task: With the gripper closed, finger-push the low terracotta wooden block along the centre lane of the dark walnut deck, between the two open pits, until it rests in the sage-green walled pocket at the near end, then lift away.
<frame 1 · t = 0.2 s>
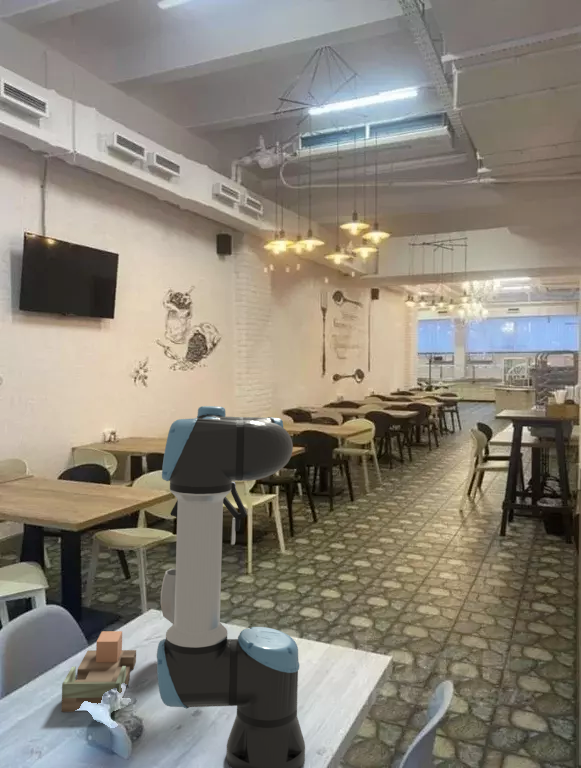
hand: (208, 542, 167), 28 cm above the table, fingers open, 13 cm apart
block: (109, 656, 153), point 3 cm above the table, touching deck
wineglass: (174, 651, 164), on the table
deck: (101, 684, 145), on the table
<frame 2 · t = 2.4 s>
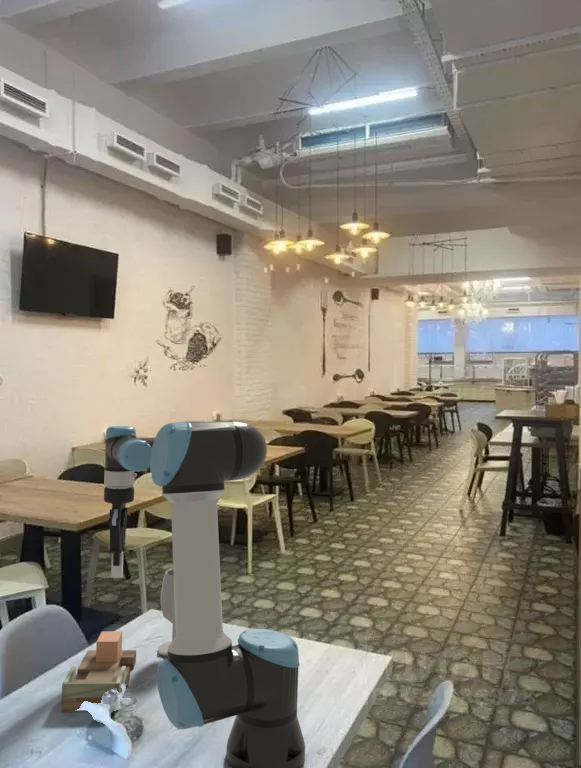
hand: (116, 576, 161), 20 cm above the table, fingers closed
nothing on the table moved.
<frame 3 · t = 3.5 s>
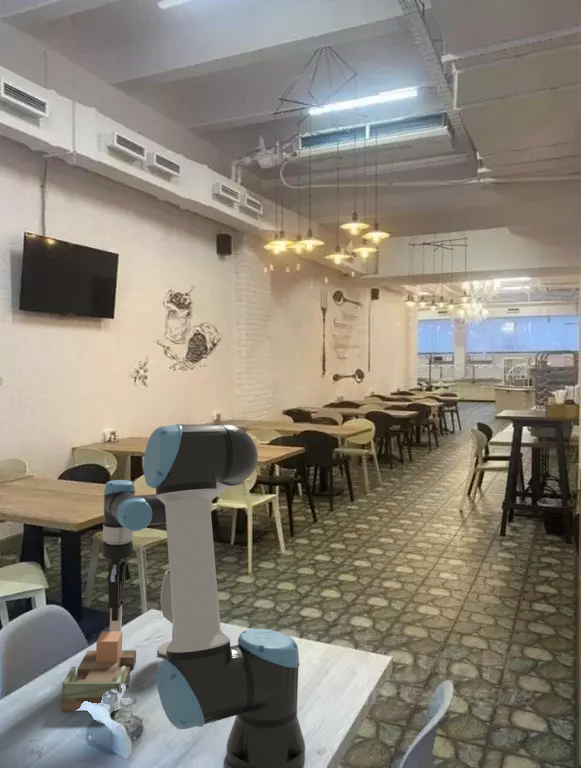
hand: (115, 631, 161), 6 cm above the table, fingers closed
nothing on the table moved.
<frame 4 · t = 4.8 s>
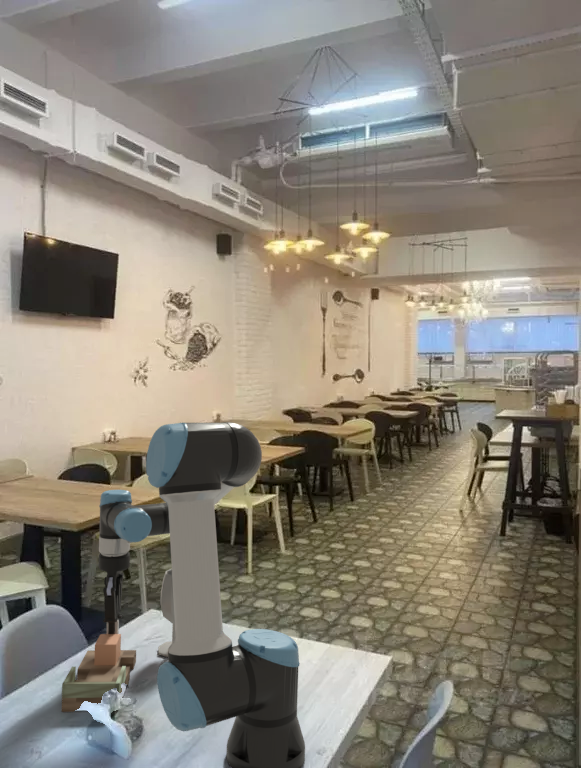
hand: (112, 645, 156), 4 cm above the table, fingers closed
block: (107, 659, 151), point 3 cm above the table, touching gripper
everything else where it was.
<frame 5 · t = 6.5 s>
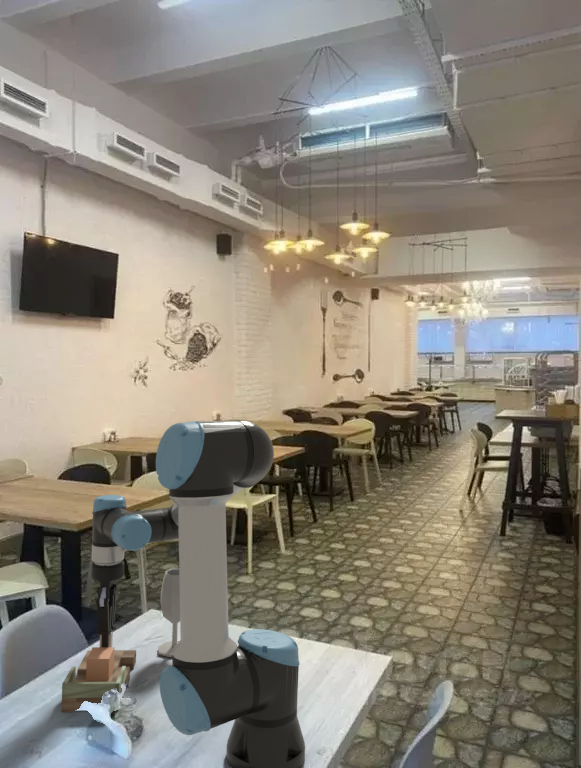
hand: (105, 659, 149), 4 cm above the table, fingers closed
block: (100, 674, 144), point 3 cm above the table, touching gripper
everything else where it was.
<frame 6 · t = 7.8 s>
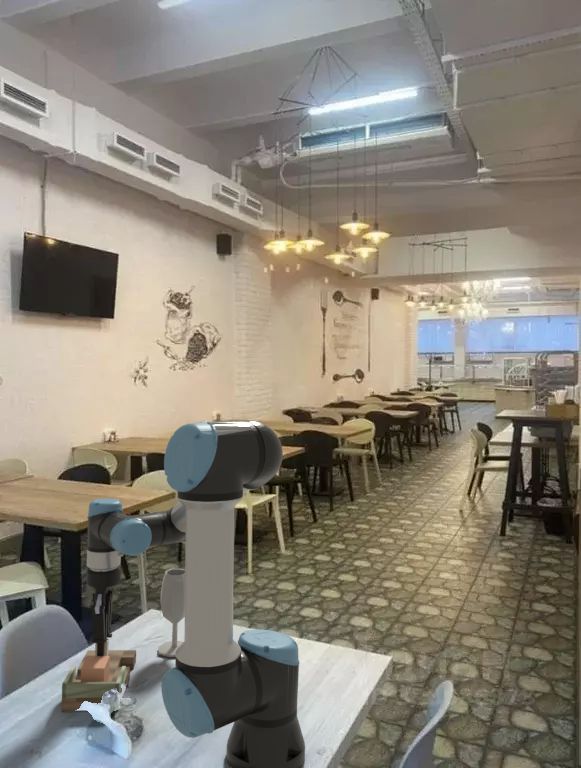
hand: (101, 667, 144), 4 cm above the table, fingers closed
block: (95, 684, 139), point 3 cm above the table, touching deck, gripper
everything else where it was.
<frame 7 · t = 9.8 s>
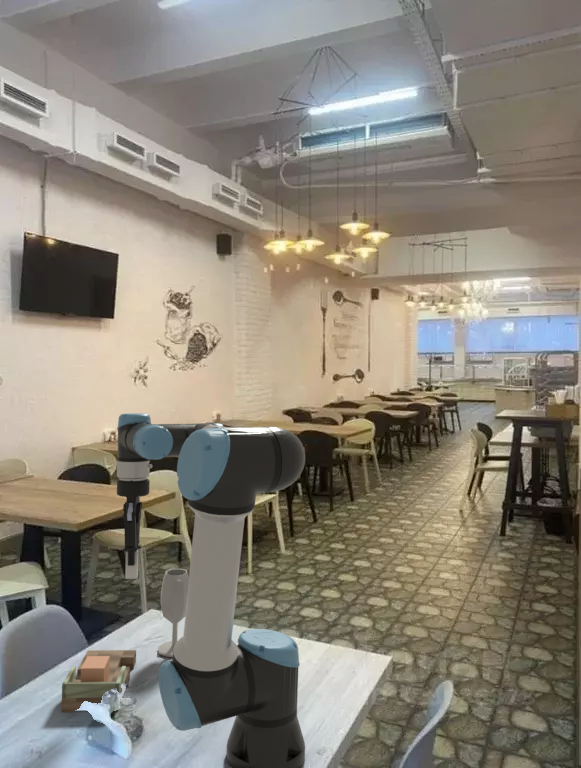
hand: (131, 577, 148), 24 cm above the table, fingers closed
block: (95, 684, 139), point 3 cm above the table, touching deck
everything else where it was.
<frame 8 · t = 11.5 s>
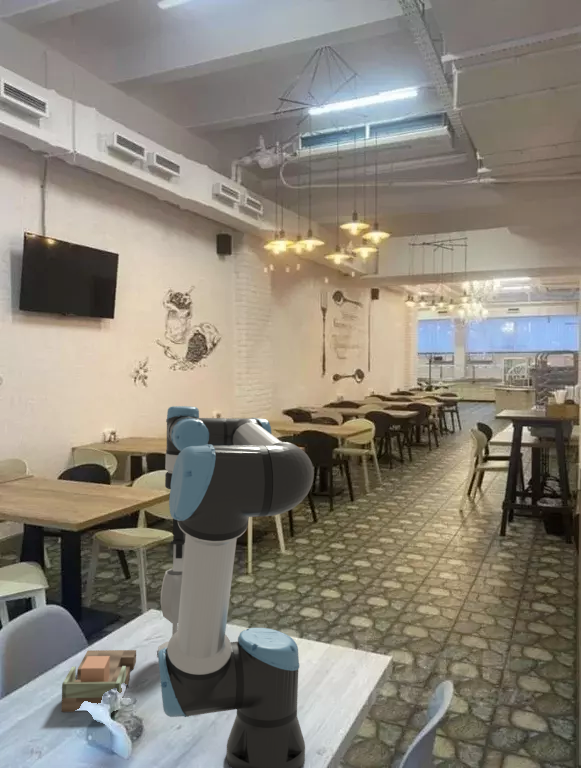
hand: (179, 570, 148), 26 cm above the table, fingers closed
nothing on the table moved.
at the end: block inside the target area on the deck (1.2 cm from its centre), point 3.0 cm above the deck's base; block tilted 0° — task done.
